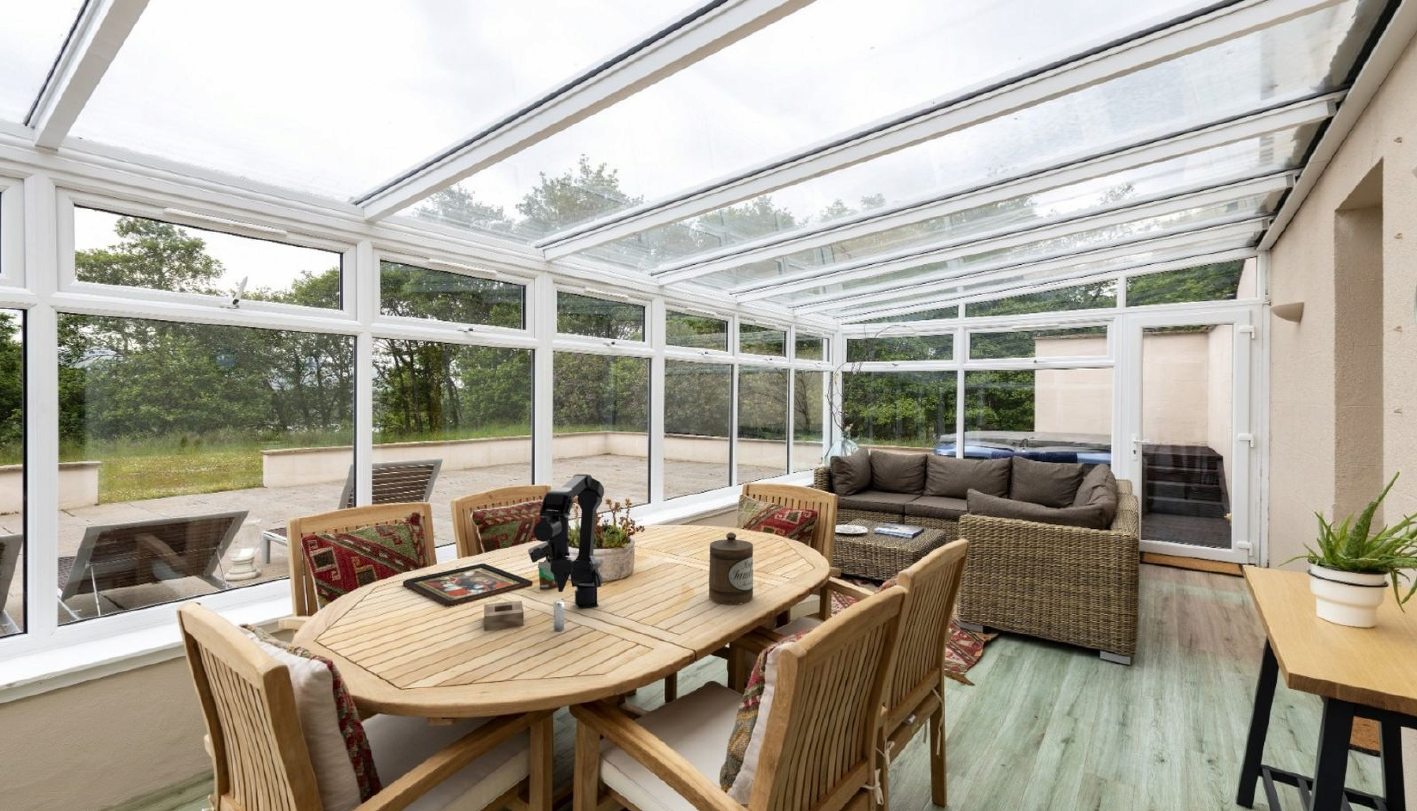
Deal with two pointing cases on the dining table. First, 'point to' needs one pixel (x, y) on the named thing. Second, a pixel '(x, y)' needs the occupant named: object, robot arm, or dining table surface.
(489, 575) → the framed icon painting
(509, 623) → the square hollow frame
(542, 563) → the food container
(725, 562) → the wooden container
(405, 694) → the dining table surface
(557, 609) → the cylinder
